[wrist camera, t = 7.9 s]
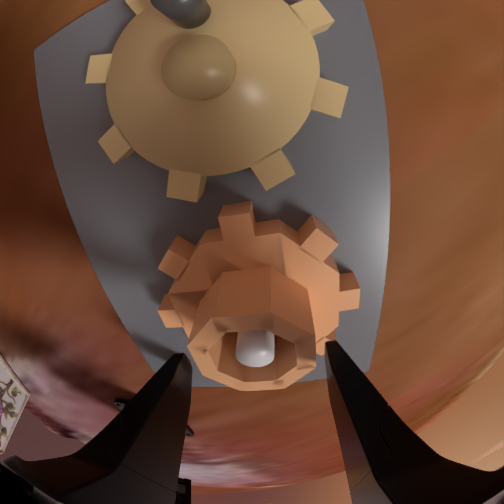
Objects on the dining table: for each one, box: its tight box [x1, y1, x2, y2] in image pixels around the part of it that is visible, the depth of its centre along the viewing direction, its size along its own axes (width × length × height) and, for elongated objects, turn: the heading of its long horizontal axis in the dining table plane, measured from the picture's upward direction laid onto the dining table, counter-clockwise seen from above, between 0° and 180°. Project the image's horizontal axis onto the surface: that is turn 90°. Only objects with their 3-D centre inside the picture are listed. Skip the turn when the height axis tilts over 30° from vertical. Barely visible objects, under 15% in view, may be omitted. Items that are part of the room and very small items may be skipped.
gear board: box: [34, 0, 390, 387], centre depth 10 cm, size 22×14×4 cm, turn 10°
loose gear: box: [158, 201, 360, 391], centre depth 11 cm, size 9×9×4 cm
